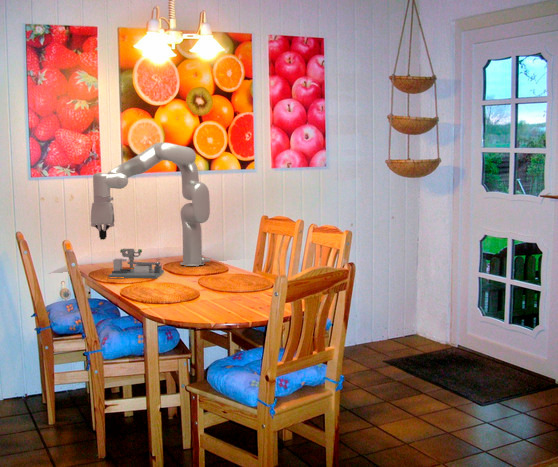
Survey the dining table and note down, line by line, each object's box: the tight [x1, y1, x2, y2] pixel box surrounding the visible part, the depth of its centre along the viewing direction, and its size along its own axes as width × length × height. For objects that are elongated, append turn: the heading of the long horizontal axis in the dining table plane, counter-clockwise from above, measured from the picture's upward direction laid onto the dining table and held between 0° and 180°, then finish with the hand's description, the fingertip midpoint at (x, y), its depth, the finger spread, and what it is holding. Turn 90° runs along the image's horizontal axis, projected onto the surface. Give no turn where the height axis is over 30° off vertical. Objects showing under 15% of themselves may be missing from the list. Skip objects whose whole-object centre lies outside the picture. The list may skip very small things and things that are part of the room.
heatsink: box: [133, 264, 153, 274], centre depth 322 cm, size 7×7×3 cm
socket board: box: [108, 264, 165, 280], centre depth 322 cm, size 22×16×4 cm
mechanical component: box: [119, 248, 143, 269], centre depth 339 cm, size 3×10×10 cm, turn 89°
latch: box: [112, 258, 128, 271], centre depth 322 cm, size 5×4×6 cm
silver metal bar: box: [127, 261, 161, 266], centre depth 322 cm, size 15×3×2 cm, turn 87°
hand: (102, 239), depth 321 cm, fingers closed
